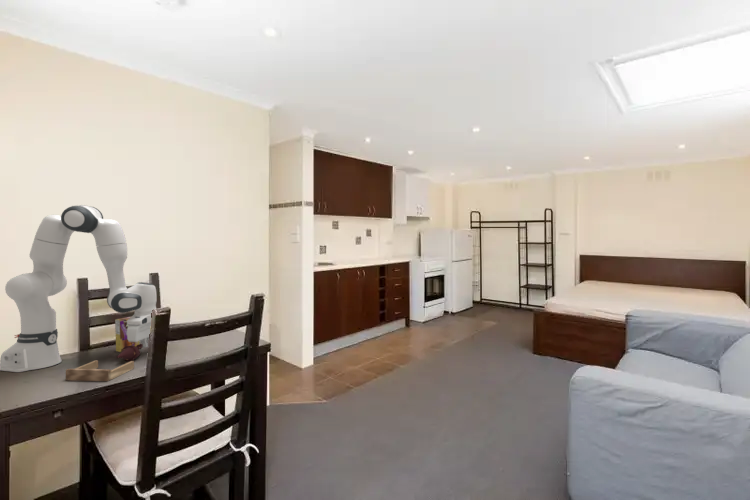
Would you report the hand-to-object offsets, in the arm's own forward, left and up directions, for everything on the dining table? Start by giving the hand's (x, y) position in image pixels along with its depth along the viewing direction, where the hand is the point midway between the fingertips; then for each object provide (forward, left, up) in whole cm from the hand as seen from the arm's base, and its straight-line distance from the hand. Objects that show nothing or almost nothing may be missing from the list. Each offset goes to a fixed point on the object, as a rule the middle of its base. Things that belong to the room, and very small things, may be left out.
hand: (146, 346), depth 176 cm
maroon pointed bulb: (0, -10, -3) cm, 11 cm away
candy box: (-13, +6, -3) cm, 15 cm away
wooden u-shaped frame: (0, -27, -3) cm, 27 cm away
